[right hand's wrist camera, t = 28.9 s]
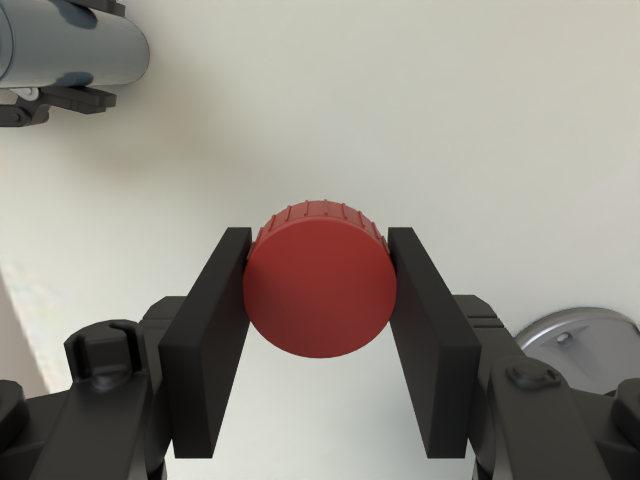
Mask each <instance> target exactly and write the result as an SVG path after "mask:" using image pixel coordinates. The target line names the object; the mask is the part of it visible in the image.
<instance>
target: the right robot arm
mask: <svg viewBox="0 0 640 480" xmlns="http://www.w3.org/2000/svg"><path fill="white" fill-rule="evenodd" d="M387 245H388V248H389V251H390V253H391V254H390V258H391V260H392V263H393V265H394V268H395V273H396V277H397V287H396V302H395V308H394V311H393V313H392V315H391V317H390V319H389V322H390V325H391V329H392V332H393V336H394V340H395V343H396V347H397V350H398V354H399V358H400V361H401V365H402V368H403V372H404V375H405V379H406V383H407V386H408V390H409V393H410V397H411V401H412V404H413V408H414V411H415V415H416V418H417V422H418V426H419V429H420V433H421V436H422V440H423V444H424V447H425V451H426V454H427V458H465V453H466V446H467V440H468V438H469V440H470V443H471V445H472V448H473V450H474V453H475V455H476V458H475V464H474V470H473V476H472V480H640V325H638V324H637V323H636V322H633V321H632V320H631V319H629V318H628V317H626V316H624V315H622V314H620V313H617V312H614V311H611V310H607V309H601V308H575V309H569V310H564V311H561V312H557V313H554V314H552V315H549V316H547V317H544V318H542V319H540V320H538V321H537V322H535V323H533V324H532V325H530V326H529V327H527V328H526V329H524V330H523V331H522V332H521V333H519V334H518V335H517V336H516V337H515V338H513V337H512V336H511V334H510V333H509V331H508V330H507V329H506V328H504V325H503V323H502V322H501V320H500V319H499V318H497V315H496V314H495V312H494V311H493V309H492V308H491V307H490V305H489V304H487V303H486V302H484V301H483V300H481V299H480V298H478V297H476V296H475V295H452V294H451V292H450V291H449V289H448V287H447V286H446V284H445V282H444V281H443V279H442V277H441V276H440V274H439V272H438V271H437V269H436V267H435V265H434V264H433V262H432V260H431V259H430V257H429V255H428V254H427V252H426V250H425V249H424V247H423V245H422V244H421V242H420V240H419V239H418V237H417V235H416V234H415V232H414V230H413V228H412V227H388V243H387ZM251 246H252V231H251V227H228V228H227V230H226V231H225V233H224V235H223V236H222V238H221V240H220V241H219V243H218V245H217V247H216V248H215V250H214V252H213V253H212V255H211V257H210V258H209V260H208V262H207V263H206V265H205V267H204V268H203V270H202V272H201V273H200V275H199V277H198V278H197V280H196V282H195V283H194V285H193V287H192V289H191V290H190V292H189V294H188V295H187V296H166V297H164V298H163V299H161V300H160V301H158V302H156V303H155V304H153V305H152V306H151V307H150V308H149V309H148V311H147V312H146V314H145V315H144V316H143V320H141V321H140V322H139V323H137V322H134V321H130V320H126V319H122V320H108V321H103V322H97V323H95V324H92V325H89V326H87V327H84V328H82V329H80V330H79V331H77V332H75V333H74V334H72V335H71V336H70V337H69V338H68V339H67V340H66V341H65V342H64V347H65V351H66V356H67V360H68V364H69V368H70V372H71V376H72V380H73V383H72V385H71V388H70V389H69V390H66V391H62V392H58V393H53V394H49V395H44V396H39V397H35V398H30V399H26V398H25V395H24V392H23V388H22V386H20V385H19V384H18V383H17V382H15V381H9V380H0V480H167V471H166V464H165V458H164V457H165V454H166V452H167V449H168V447H169V444H170V442H171V439H172V442H173V448H174V455H175V458H212V457H213V453H214V450H215V446H216V442H217V439H218V435H219V432H220V428H221V425H222V421H223V417H224V414H225V410H226V407H227V403H228V400H229V396H230V392H231V389H232V385H233V382H234V378H235V374H236V371H237V367H238V364H239V360H240V357H241V353H242V349H243V346H244V342H245V339H246V335H247V331H248V328H249V324H250V319H249V317H248V315H247V313H246V310H245V305H244V292H243V273H244V270H245V267H246V264H247V261H246V258H247V256H248V253H249V251H250V248H251Z"/></svg>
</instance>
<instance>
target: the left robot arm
mask: <svg viewBox="0 0 640 480" xmlns="http://www.w3.org/2000/svg"><path fill="white" fill-rule="evenodd" d="M64 1H67V2H70V3H74V4H77V5H80V6H84V7H87V8H91V9H94V10H98V11H101V12H105V13H109V14H112V15H116V16H119V17H123V18H124V16H125V5H122V4H119V3H116V0H64ZM9 90H10V91H12V92H14V93H15V94H17V95H19V97H18V99H17V101H16V104H15V105H3V104H0V127H23V126H29V125H35V124H41V123H45V122H47V121H48V119H49V113H48V110H49V108H50V106H51V105H53V106H57V107H61V108H65V109H68V110H72V111H76V112H80V113H84V114H93V113H100V112H105V111H106V108H108V107H114V106H116V95H115V94H112V93H108V92H104V91H101V90H97V89H93V88H89V87H86V86H70V87H45V88H21V89H9Z"/></svg>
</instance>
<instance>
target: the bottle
mask: <svg viewBox="0 0 640 480" xmlns="http://www.w3.org/2000/svg"><path fill="white" fill-rule="evenodd" d="M148 63H149V48H148V44H147V41H146V39H145V37H144V35H143V34H142V32H141V31H140V29H139V28H138V27H137V26H136V25H134V24H133V23H132V22H130V21H129V20H127V19H125V18H122V17H119V16H116V15H112V14H109V13H105V12H101V11H98V10H94V9H91V8H87V7H84V6H80V5H77V4H74V3H70V2H67V1H64V0H0V89H21V88H45V87H70V86H94V85H118V84H129V83H132V82H135V81H136V80H138V79H139V78H140V77H141V76H142V75H143V74H144V72H145V71H146V69H147V66H148Z"/></svg>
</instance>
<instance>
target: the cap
mask: <svg viewBox="0 0 640 480" xmlns="http://www.w3.org/2000/svg"><path fill="white" fill-rule="evenodd" d="M390 254H391V253H390V251H389V248H388V245H387V243H386V240H385V238H384V236H381V234H380V233H379V231H378V230H377V228H376V225H375V223H374V222H371V221H370V220H369V219H367V218H366V217H365V216H364V215H363V214H362V212H361V211H359V212H358V211H356V210H355V209H353V208H350V207H348V206H346V205H345V203H342V204H340V203H335V202H330V201H327V200H325V199H324V201H309V202H308V200H306V201H305V202H304V203H300V204H297V205H294V206H290V205H289V206H288V207H287V209H285V210H283V211H281V212H280V213H278V214H277V215H273V216H272V218H271V220H270V221H269V222H268V223H267V224H266V225H265V226H264V227H261V228H260V231H259V233H258V236H257V239H256V241H255V242H253V243H252V246H251V248H250V251H249V253H248V256H247V258H246V261H247V264H246V267H245V270H244V273H243V292H244V305H245V310H246V313H247V315H248V317H249V319H250V321H251V322H252V324H253V325H254V327H255V328H256V329H257V331H258V332H259V333H260V334H261V335H262V336H263V337H264V338H265V339H266V340H268V341H269V342H270V343H272V344H273V345H275V346H276V347H278V348H280V349H282V350H284V351H286V352H289V353H291V354H294V355H298V356H302V357H308V358H332V357H337V356H341V355H345V354H348V353H351V352H353V351H356V350H358V349H359V348H361V347H363V346H365V345H366V344H368V343H369V342H370V341H372V340H373V339H374V338H375V337H376V336H377V335H378V334H379V333H380V332H381V331H382V330H383V328H384V327H385V326H386V324H387V323H388V321H389V319H390V317H391V315H392V313H393V311H394V308H395V302H396V287H397V277H396V273H395V268H394V265H393V263H392V260H391V258H390Z"/></svg>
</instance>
